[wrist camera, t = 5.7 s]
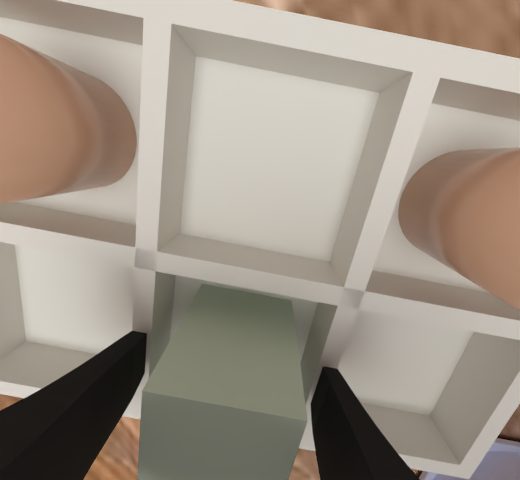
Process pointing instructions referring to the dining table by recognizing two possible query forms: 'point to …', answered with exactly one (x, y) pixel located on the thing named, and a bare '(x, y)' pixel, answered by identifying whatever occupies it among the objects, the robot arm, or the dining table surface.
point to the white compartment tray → (270, 209)
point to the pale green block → (225, 393)
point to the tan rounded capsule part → (58, 127)
